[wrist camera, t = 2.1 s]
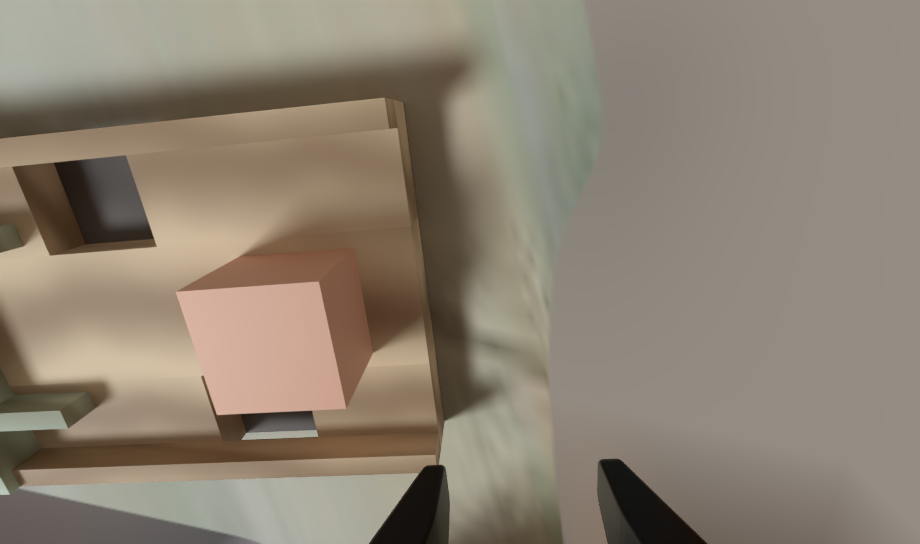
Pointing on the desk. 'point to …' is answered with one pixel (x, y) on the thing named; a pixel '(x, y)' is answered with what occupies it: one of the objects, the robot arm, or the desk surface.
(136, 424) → the board
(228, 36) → the desk surface
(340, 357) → the block
